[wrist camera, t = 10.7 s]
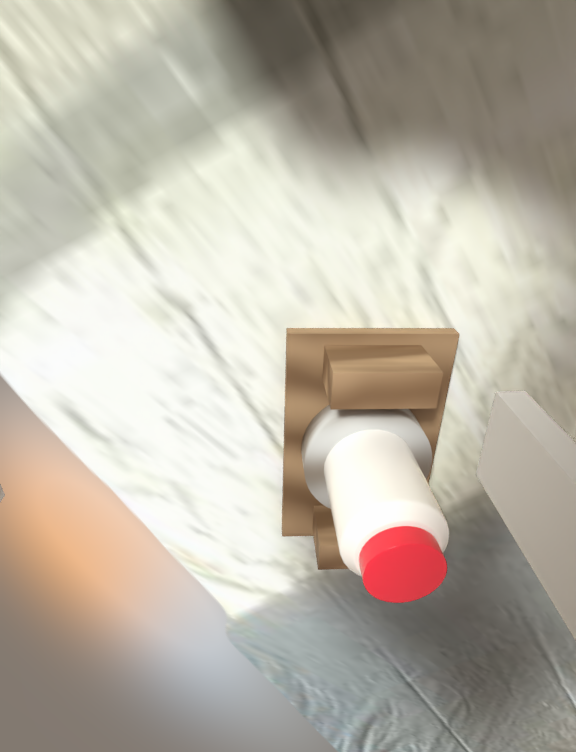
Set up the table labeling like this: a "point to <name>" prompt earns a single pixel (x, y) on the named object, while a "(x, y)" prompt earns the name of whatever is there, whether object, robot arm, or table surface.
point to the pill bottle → (386, 516)
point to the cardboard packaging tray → (355, 409)
